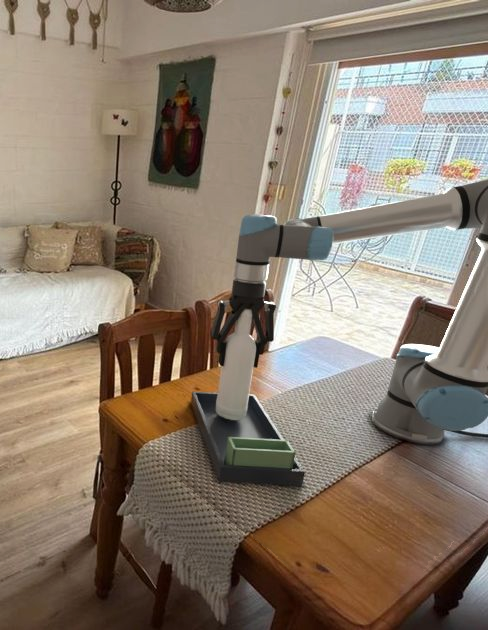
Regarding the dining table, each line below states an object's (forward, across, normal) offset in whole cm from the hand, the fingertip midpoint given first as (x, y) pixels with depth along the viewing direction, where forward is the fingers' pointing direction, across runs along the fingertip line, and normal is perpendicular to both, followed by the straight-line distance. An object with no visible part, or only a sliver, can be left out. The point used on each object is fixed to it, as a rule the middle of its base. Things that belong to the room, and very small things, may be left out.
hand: (237, 364), depth 114 cm
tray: (+17, 0, +9) cm, 19 cm away
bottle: (+15, 0, 0) cm, 15 cm away
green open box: (+16, 0, +22) cm, 27 cm away
